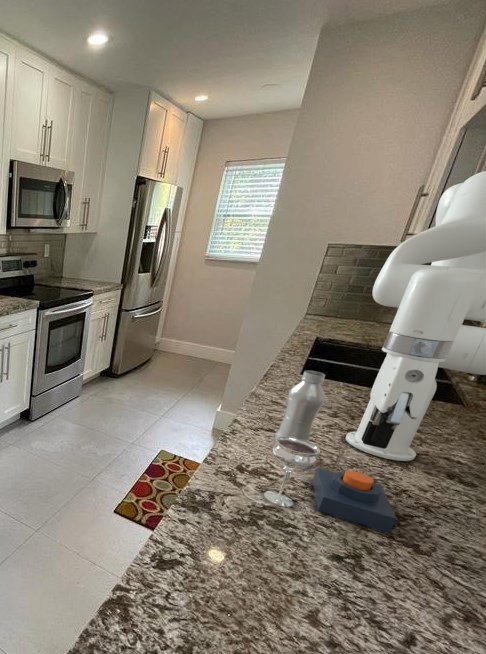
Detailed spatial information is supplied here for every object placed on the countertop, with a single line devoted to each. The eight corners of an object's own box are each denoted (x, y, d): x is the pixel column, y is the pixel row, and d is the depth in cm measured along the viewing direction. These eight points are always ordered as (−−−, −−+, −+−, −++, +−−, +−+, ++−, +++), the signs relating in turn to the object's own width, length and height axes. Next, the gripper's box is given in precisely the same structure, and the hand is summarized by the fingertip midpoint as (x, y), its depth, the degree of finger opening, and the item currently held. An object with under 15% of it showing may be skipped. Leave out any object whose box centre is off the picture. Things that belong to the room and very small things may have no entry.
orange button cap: (340, 475, 80) (344, 468, 79) (367, 483, 78) (371, 475, 77) (343, 485, 77) (347, 477, 76) (372, 493, 74) (375, 485, 74)
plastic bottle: (310, 461, 93) (341, 379, 86) (277, 457, 94) (305, 376, 87) (296, 447, 99) (323, 370, 92) (265, 444, 100) (290, 367, 93)
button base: (312, 480, 86) (320, 460, 84) (375, 498, 81) (384, 476, 79) (317, 511, 77) (326, 488, 75) (389, 533, 71) (401, 509, 70)
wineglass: (262, 504, 78) (281, 449, 73) (254, 485, 84) (271, 433, 79) (304, 514, 76) (326, 458, 71) (293, 493, 81) (313, 440, 77)
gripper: (466, 361, 60) (413, 470, 66) (432, 342, 71) (390, 435, 78) (396, 351, 63) (353, 455, 70) (375, 334, 75) (340, 424, 82)
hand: (373, 444), depth 74 cm, fingers closed
